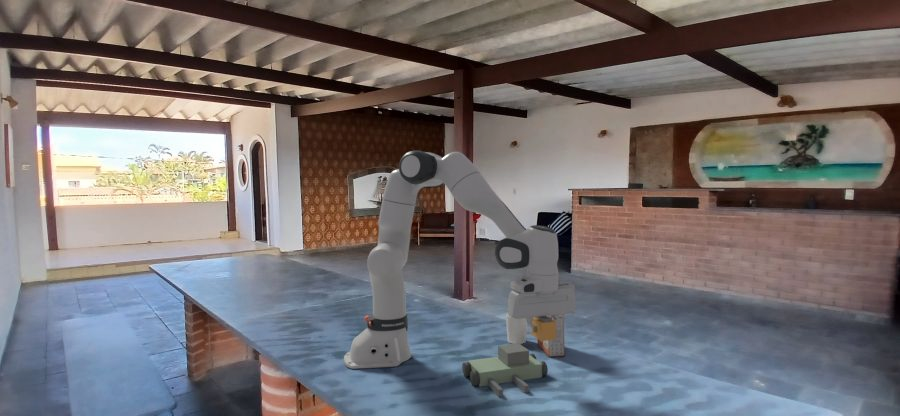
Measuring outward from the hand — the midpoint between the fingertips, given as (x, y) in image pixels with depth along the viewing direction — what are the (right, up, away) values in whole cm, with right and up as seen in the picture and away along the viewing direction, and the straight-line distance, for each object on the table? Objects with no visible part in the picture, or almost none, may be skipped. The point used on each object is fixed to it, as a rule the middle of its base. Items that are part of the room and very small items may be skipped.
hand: (542, 330), depth 132 cm
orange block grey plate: (0, -2, 0) cm, 2 cm away
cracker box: (+8, -15, +29) cm, 34 cm away
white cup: (-2, -14, +39) cm, 41 cm away
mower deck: (-9, -16, +4) cm, 19 cm away
